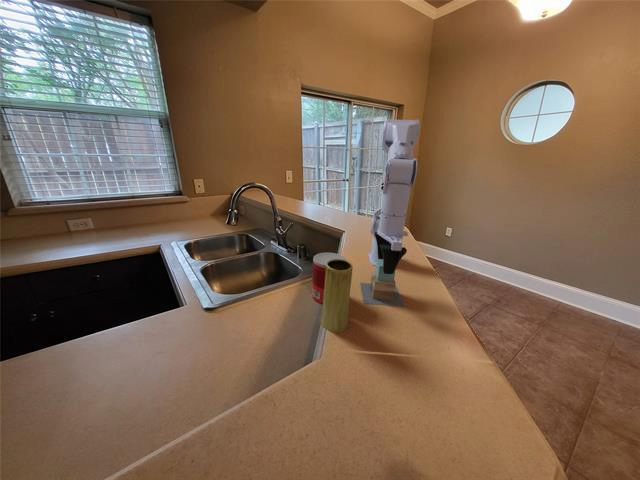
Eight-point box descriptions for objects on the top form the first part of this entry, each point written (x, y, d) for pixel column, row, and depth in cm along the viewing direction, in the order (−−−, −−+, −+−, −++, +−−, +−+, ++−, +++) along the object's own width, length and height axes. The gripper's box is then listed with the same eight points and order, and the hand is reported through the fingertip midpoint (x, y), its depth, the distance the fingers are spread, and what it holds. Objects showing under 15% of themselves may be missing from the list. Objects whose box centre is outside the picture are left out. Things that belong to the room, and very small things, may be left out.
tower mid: (371, 280, 67) (372, 271, 66) (389, 281, 66) (391, 272, 66) (373, 290, 62) (375, 281, 61) (394, 291, 62) (395, 282, 61)
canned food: (341, 309, 59) (344, 267, 55) (308, 304, 60) (309, 263, 56) (344, 292, 66) (348, 254, 62) (315, 287, 67) (316, 250, 63)
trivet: (359, 284, 70) (359, 282, 70) (395, 286, 70) (395, 285, 70) (363, 305, 61) (363, 303, 61) (404, 307, 60) (405, 306, 60)
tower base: (369, 288, 68) (371, 280, 67) (388, 289, 67) (389, 281, 66) (372, 298, 63) (373, 290, 62) (392, 299, 63) (394, 291, 62)
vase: (351, 318, 56) (357, 261, 51) (344, 336, 50) (351, 274, 45) (325, 312, 57) (329, 255, 52) (316, 328, 52) (319, 268, 47)
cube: (374, 272, 65) (376, 259, 64) (390, 273, 65) (392, 260, 64) (377, 280, 62) (379, 265, 60) (393, 281, 61) (396, 267, 60)
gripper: (421, 223, 51) (409, 281, 55) (402, 207, 64) (394, 255, 69) (386, 221, 51) (377, 279, 56) (375, 205, 64) (369, 253, 69)
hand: (385, 266), depth 62 cm, fingers open, 7 cm apart
